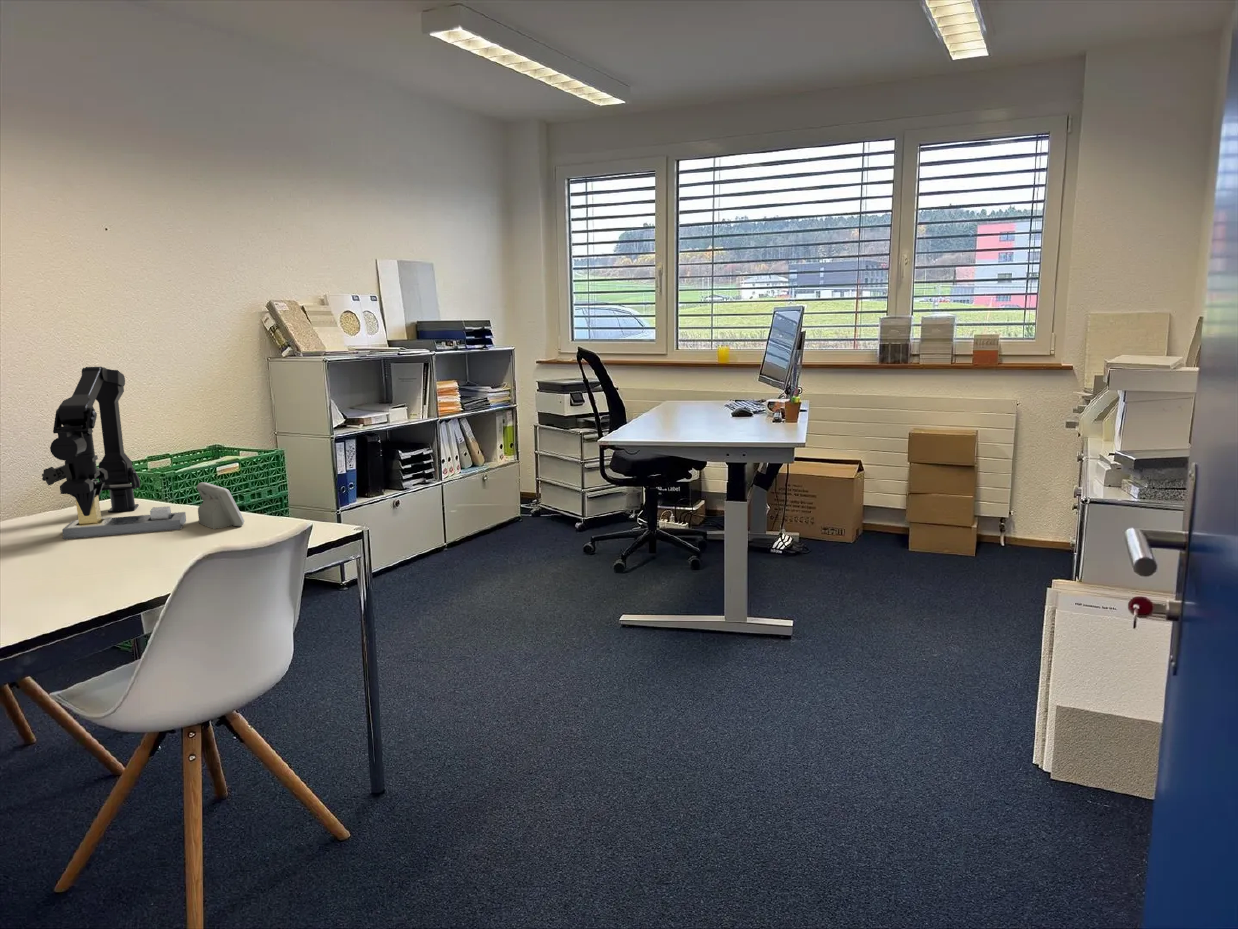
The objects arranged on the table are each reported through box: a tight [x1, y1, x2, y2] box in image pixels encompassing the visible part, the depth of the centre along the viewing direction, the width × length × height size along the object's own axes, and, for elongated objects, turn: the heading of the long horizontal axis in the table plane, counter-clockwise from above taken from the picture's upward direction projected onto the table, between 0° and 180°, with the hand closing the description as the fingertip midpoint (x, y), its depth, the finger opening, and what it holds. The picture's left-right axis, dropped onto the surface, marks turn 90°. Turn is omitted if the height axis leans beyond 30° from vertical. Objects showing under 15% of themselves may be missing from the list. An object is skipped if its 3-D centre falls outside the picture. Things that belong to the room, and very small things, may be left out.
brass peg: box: [75, 495, 102, 525], centre depth 205 cm, size 4×4×8 cm
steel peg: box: [149, 505, 172, 521], centre depth 211 cm, size 4×4×5 cm
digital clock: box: [196, 481, 245, 530], centre depth 213 cm, size 16×9×11 cm, turn 38°
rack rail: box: [62, 511, 187, 540], centre depth 208 cm, size 9×26×3 cm, turn 110°
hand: (89, 513), depth 205 cm, fingers open, 4 cm apart
